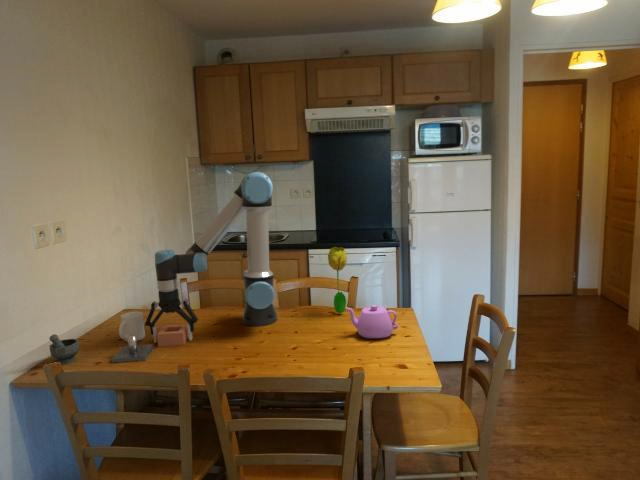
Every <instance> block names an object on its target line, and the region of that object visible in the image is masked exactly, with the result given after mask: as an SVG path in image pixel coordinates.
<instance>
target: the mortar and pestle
mask: <svg viewBox="0 0 640 480" xmlns="http://www.w3.org/2000/svg"><path fill="white" fill-rule="evenodd" d="M48 338H49V341H50V342H51V344H49V345H48V346H49V352H50V354H51V355H50V356H52V357H53V358H54V359H55V360H56V361H57V362H60V363H61V364H62V365H63V366H64V365H69V364H72V363H74V362H76V359H77V358H76V355H77V353H79V349H80V348H79V347H80V343H79V340H78V338H77V339H76V338H66V339H62V340H60V338H59V335H58V334H56V333H55V334H52V335H50V336H49V337H48ZM62 365H61V366H62Z"/></svg>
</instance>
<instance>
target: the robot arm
mask: <svg viewBox="0 0 640 480" xmlns="http://www.w3.org/2000/svg"><path fill="white" fill-rule="evenodd" d="M273 186H274V185H273V182H272V180H271V179H270V177H269V176H268V175H267V174H265V173H264V172H260V171H252V172H249V173H247V174H245V175H244V177H243V178H242V180H241V182H240V184H239V185H238V187H237V188H236V189H235V190H234V192H233V196H232V198H231V199H230V200H229V202H228V203H226V205H225V206H224V207H223V208H222V210H221V211H220V212H219V213H218V214H217V215H216V217H214V219H213V220H212V221H211V222H210V223H209V225H208V226H207V227H206V228H205V230H204V231H203V232H202V233H201V234H200V235H199V237H198V238H197V239H196V240H195V242H193V244H192V245H191V246H190V247H189V248H188V249H187V250H186V251H185V253H183V254H182V253H181V254H176V252H175V251H174V249H162V250H158V251H156V252H155V253H154V267H155V273H156V282H157V283H156V284H157V291H158V299H159V301H158V302H157V301H153V302H152V303H151V304H150V307H151V308H150V310H149V313H148V315H147V318H146V321H145V322H144V327H149V328H150V335H151V336H152V335H153V342H154V343H153V344H156V343H157V344H158V341H157V334H158V327H157V325H155V324H156V323H157V322H158V320H159V319H160V318H161V316H162V315H163V314H164V313H166V314H170V313H172V314H173V313H177V314H178V315H180V317H182V319H183V320H184V321H186V323H187V324H188V334H189V338H188V341H190V342H191V341H192V340H193V333H194V331H195V323H197V322H198V321H199V318H198V317H197V315H196V314H195V312H194V310H193V309H192V307H191V306H190V304H189V300H188V299H184V300H181V299H180V293H179V289H178V287H179V286H178V283H179V282H178V275H179V274H190V273H191V274H192V273H201V272H206V271H207V270H208V259H207V257H208V256H209V255H210V253H211V252H212V251H213V250H214V249H215V247H216V246H217V245H218V244H219V242H220V241H221V240H222V239H223V238H224V237H225V235H226V234H227V233H228V232H229V231H230V229H231V228H232V227H233V226H234V225H235V224H236V223H237V221H238V220H239V219H240V218H241V217H242V216H243V214H244V213H246V246H247V247H246V248H247V249H246V250H247V270H244V271H243V272H242V279H243V291H244V292H243V293H244V302H245V306H244V310H243V313H242V323H243V324H244V325H246V326H248V327H249V326H251V327H261V326H267V325H271V324H274V323H275V322H277V321H278V313H277V310H276V308H275V305H274V303H273V302H274V300H275V297H276V291H275V289H274V285H275V284H274V272H272V271H271V269H270V239H269V236H270V235H269V229H270V228H269V211H270V210H271V208H272V207H273V200H272V197H273V196H272V195H273V191H274V190H273V189H274V188H273ZM181 305H182V307H184V309H185V311H186V312H185V311H184V310H183V308H182V307H180V306H181ZM158 307H159V308H160V310H159V312H158V314H157V315H156V316H155V318H153V316H154V313H155V311H156V308H158ZM187 313H188V314H187ZM152 319H153V320H152Z"/></svg>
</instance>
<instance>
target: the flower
mask: <svg viewBox="0 0 640 480" xmlns="http://www.w3.org/2000/svg"><path fill="white" fill-rule="evenodd" d="M327 258H328V259H327V261H328V265H329V266H330V268H331V269H332V270H334V271H336V279H337V281H336V282H337V293H336V294H335V295H334V297H333V307H334V310H335V312H336V313H338V314H339V315H342V313H345V311H346V308H345V307H347V306H346V305H347V304H346V303H347V298H346V296H345V294H344V293H343V291H341V292H340V290H339V288H340V287H339V285H340V284H339V283H340V282H339V272H340V271H342V270H343V269H344V268H345V267H346V265H347V263H348V261H347V258H348V257H347V250H346V249H345V248H344V247H342V246H341V247H338V246H334V247H331V248H330V249H329V250H328V253H327Z"/></svg>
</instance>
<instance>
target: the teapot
mask: <svg viewBox="0 0 640 480" xmlns="http://www.w3.org/2000/svg"><path fill="white" fill-rule="evenodd" d="M345 310H347V311H348V312H349V314H350V320H351V323H352V325H353V327H355V328H356V329H357V332H358V335H359V336H361V337H362V338H365V339H369V340H370V339H385V338H388V337H390V336H391V335H392V333H393V330H397V329H398V328H399V325H398V323H396V321H397V319H398V318H397V316H398V315H397V312H396V311H394V310H392V309H389V310H387V308H386V307H383V306H378V304H371V305H370V306H367V307H363V308H362V310H361V312H360V315H359V316H358V318H357V317H356V316H355V311H354V310H353V308H351V307H347V306H346V307H345ZM390 313H391V314H393V315H394V316H393V320H392V317H391V315H390Z"/></svg>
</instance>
